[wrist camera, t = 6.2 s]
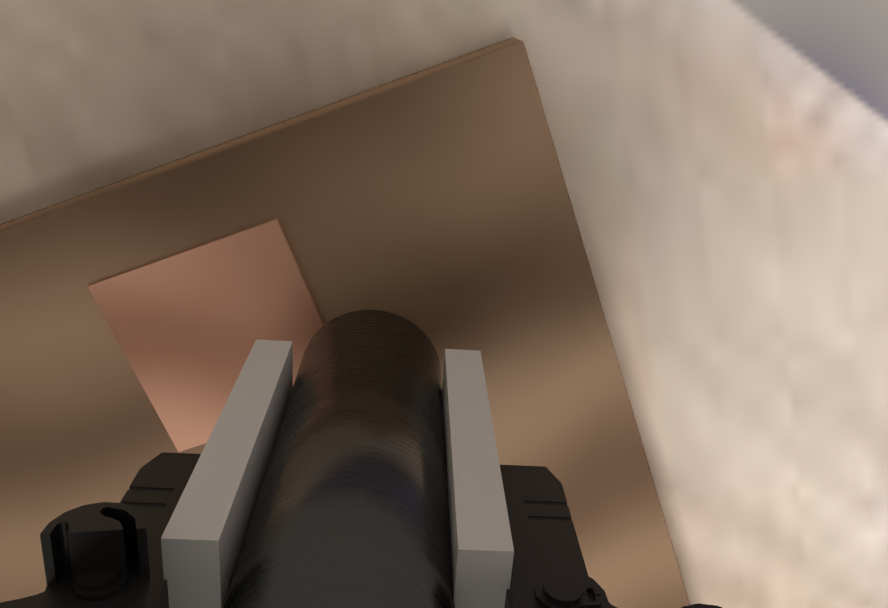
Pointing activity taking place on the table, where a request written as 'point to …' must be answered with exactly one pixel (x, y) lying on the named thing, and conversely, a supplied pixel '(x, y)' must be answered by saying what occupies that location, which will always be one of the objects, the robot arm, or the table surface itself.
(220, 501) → the robot arm
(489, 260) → the nutcracker board
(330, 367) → the lever
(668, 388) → the table surface
